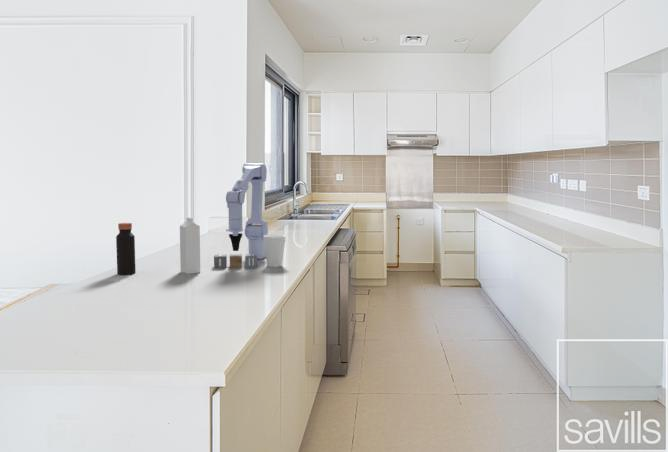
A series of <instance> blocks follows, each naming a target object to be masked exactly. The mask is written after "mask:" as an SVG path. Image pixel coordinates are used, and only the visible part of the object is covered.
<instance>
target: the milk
mask: <svg viewBox="0 0 668 452" xmlns="http://www.w3.org/2000/svg"><path fill="white" fill-rule="evenodd" d="M200 232H201V231H200V225H198V224H196V223H195V222H194V221H193V218H191V217H186V221H184V222H183V223H181V224H180V225H179V249H180V250H179V251H180V253H179V254H180V255H179V256H180V257H179V260H180V261H179V262H180V273H182V274H184V275H191V274H198V273H199V274H200V273H201V233H200Z"/></svg>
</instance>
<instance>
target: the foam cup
mask: <svg viewBox="0 0 668 452" xmlns="http://www.w3.org/2000/svg"><path fill="white" fill-rule="evenodd" d="M285 243H286V235H284V234H268V235H264V245H265V253H266V257H265V259H266V266H267V267H268V268H269V267H270V268H279V266H280V267H282V266H283V259H284V252H285Z"/></svg>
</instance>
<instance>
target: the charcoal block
mask: <svg viewBox="0 0 668 452" xmlns="http://www.w3.org/2000/svg"><path fill="white" fill-rule="evenodd" d="M227 256H228V254H214V256H213V269H227V265H228V263H227V262H228V261H227V258H228V257H227Z"/></svg>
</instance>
